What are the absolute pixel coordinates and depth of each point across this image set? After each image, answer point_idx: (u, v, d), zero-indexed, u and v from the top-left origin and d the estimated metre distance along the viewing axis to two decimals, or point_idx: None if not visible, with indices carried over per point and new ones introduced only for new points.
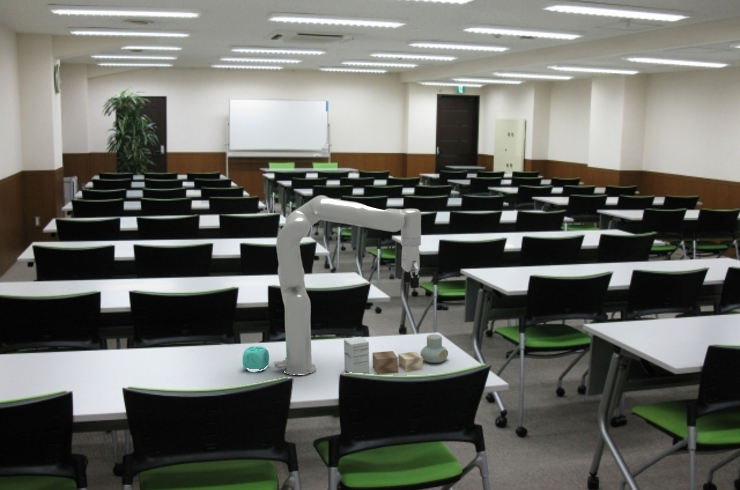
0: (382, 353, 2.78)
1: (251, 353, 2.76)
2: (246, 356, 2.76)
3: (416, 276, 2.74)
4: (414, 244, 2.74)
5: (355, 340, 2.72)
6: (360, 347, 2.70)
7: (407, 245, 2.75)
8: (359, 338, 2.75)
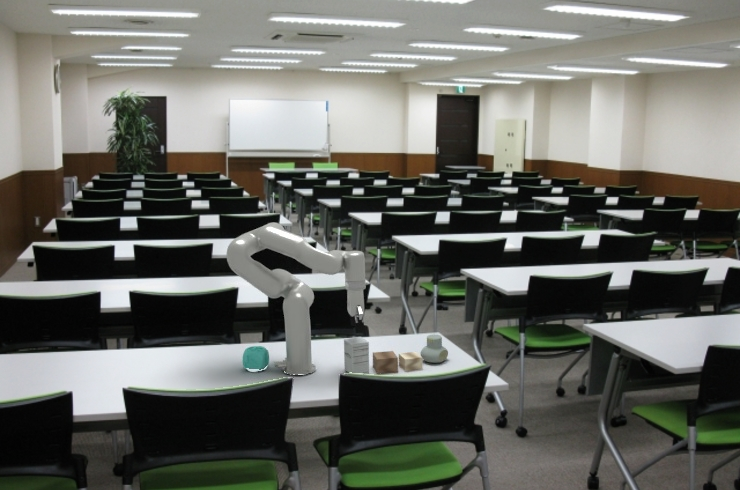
0: (383, 353, 2.78)
1: (251, 353, 2.76)
2: (246, 356, 2.76)
3: (360, 321, 2.65)
4: (358, 288, 2.66)
5: (355, 340, 2.72)
6: (360, 347, 2.70)
7: (351, 289, 2.66)
8: (359, 338, 2.75)
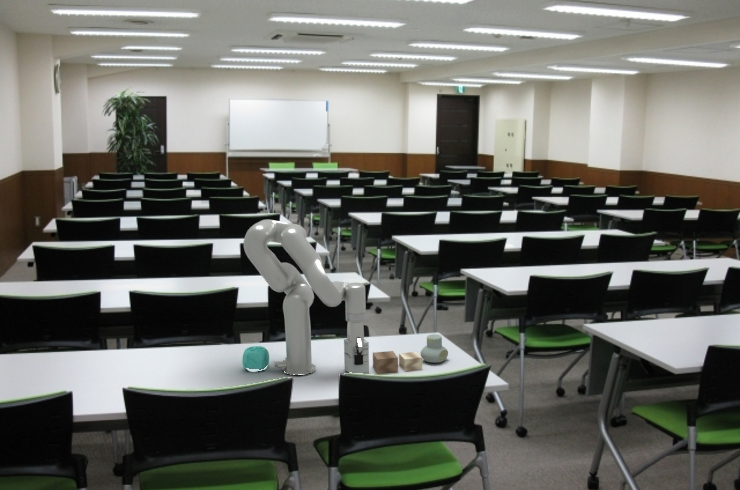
0: (383, 353, 2.78)
1: (251, 353, 2.76)
2: (246, 356, 2.76)
3: (360, 353, 2.68)
4: (358, 320, 2.68)
5: None
6: None
7: (351, 321, 2.68)
8: None
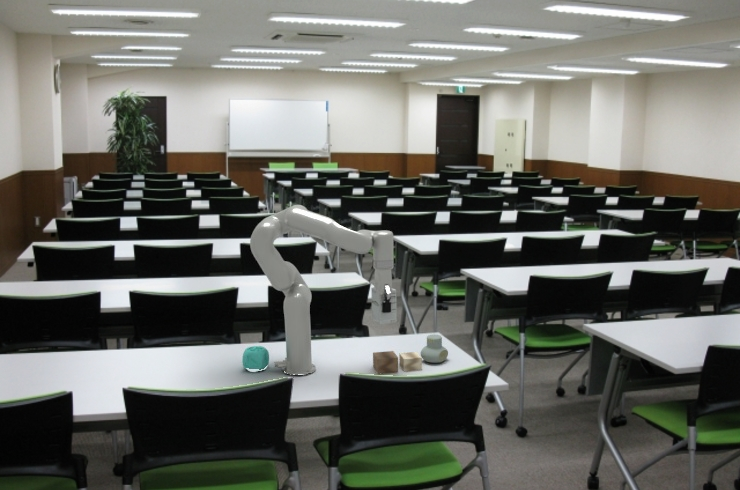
0: (383, 353, 2.78)
1: (251, 353, 2.76)
2: (246, 356, 2.76)
3: (388, 301, 2.67)
4: (386, 267, 2.67)
5: None
6: None
7: (379, 268, 2.67)
8: None
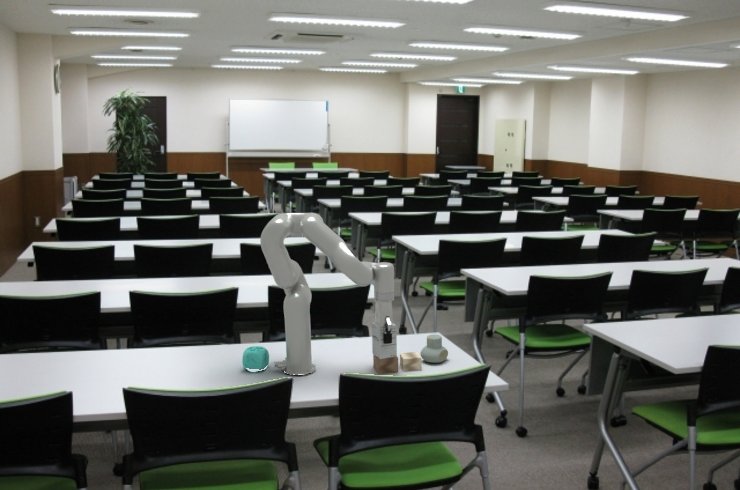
0: None
1: (251, 353, 2.76)
2: (246, 356, 2.76)
3: (389, 332, 2.68)
4: (387, 299, 2.69)
5: None
6: None
7: (380, 300, 2.69)
8: None
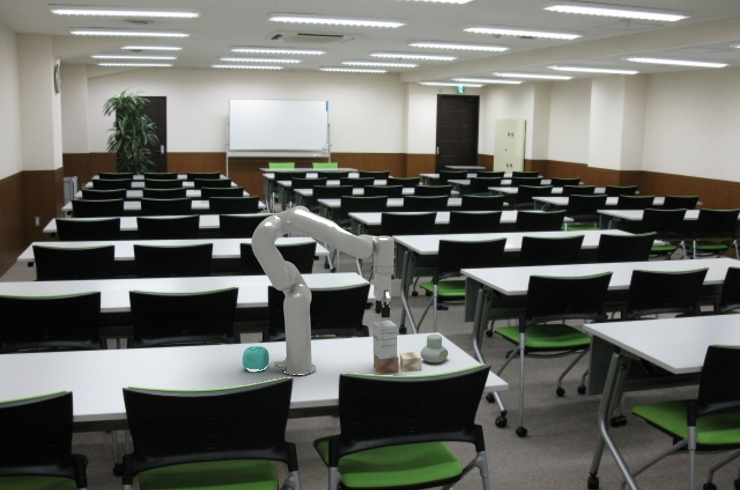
0: None
1: (251, 353, 2.76)
2: (246, 356, 2.76)
3: (387, 306, 2.67)
4: (386, 273, 2.67)
5: (383, 324, 2.73)
6: (388, 330, 2.71)
7: (379, 273, 2.67)
8: (388, 322, 2.76)
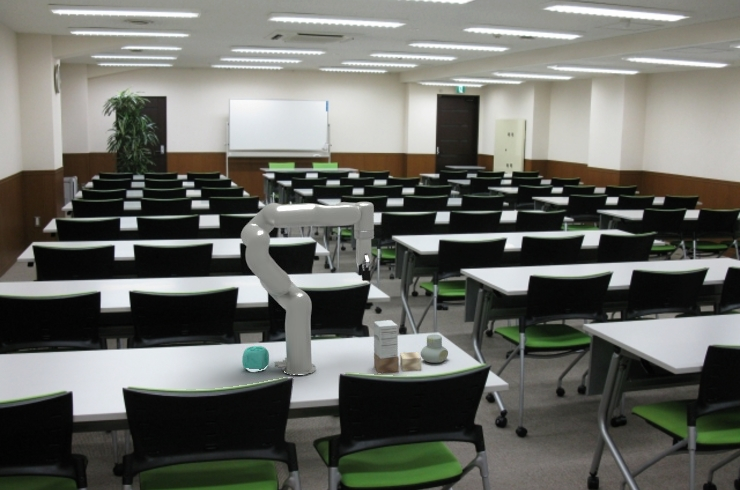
0: None
1: (251, 353, 2.76)
2: (246, 356, 2.76)
3: (367, 269, 2.76)
4: (366, 237, 2.76)
5: (384, 323, 2.74)
6: (389, 330, 2.71)
7: (359, 238, 2.77)
8: (389, 321, 2.76)
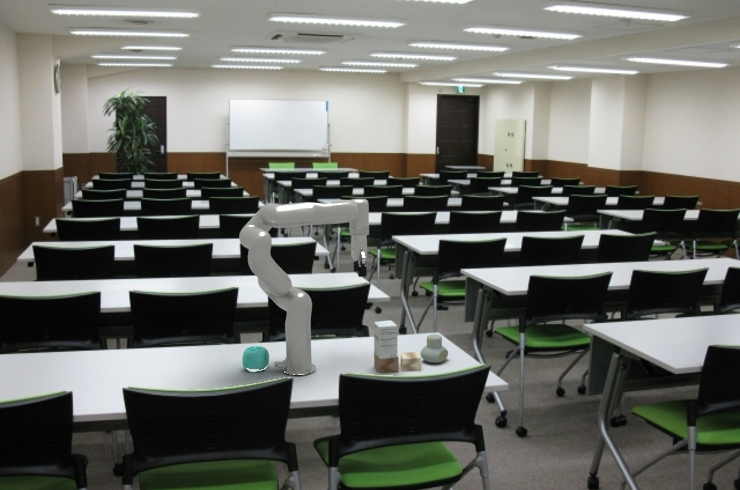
0: None
1: (251, 353, 2.76)
2: (246, 356, 2.76)
3: (363, 265, 2.79)
4: (362, 233, 2.79)
5: (384, 323, 2.74)
6: (389, 330, 2.71)
7: (355, 234, 2.79)
8: (389, 321, 2.76)
